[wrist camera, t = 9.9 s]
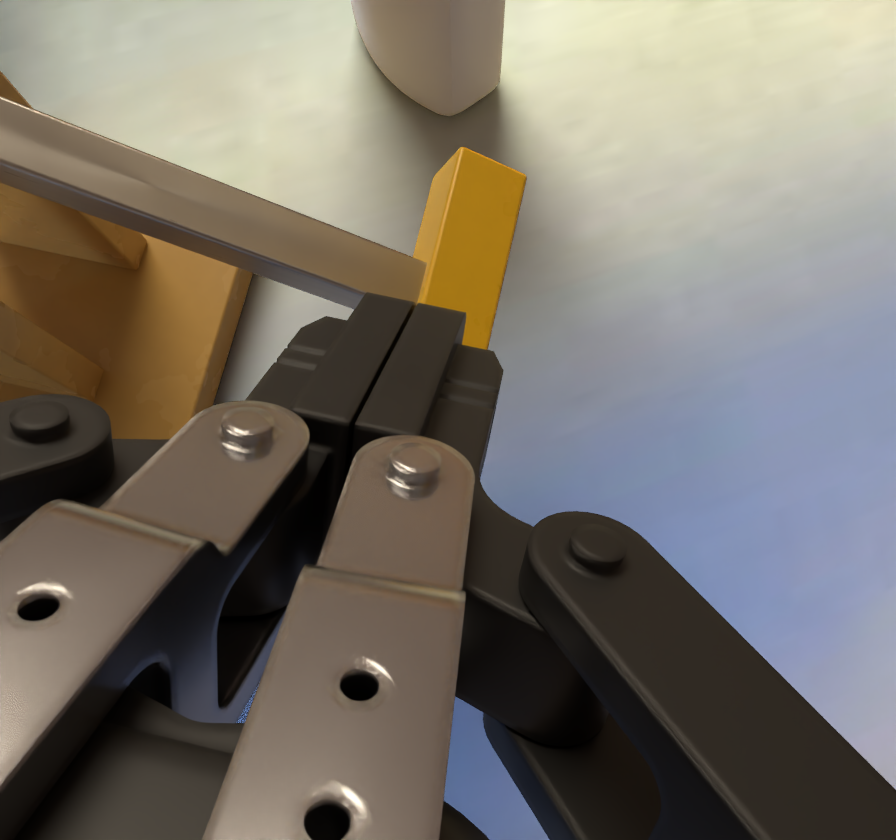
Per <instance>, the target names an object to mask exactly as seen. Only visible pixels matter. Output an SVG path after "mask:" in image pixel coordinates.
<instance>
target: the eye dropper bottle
mask: <svg viewBox="0 0 896 840" xmlns="http://www.w3.org/2000/svg"><path fill="white" fill-rule="evenodd" d="M351 5H352V10H353V14H354V18H355V21H356V24H357V27H358V30H359V33H360V35H361V38H362V40H363V42H364V44H365V46H366V48H367V50H368V52H369V54H370V55H371V57H372V59H373V60H374V62H375V63H376V65H377V66H378V67H379V69H380V70H381V71H382V72H383V74H384V75H385V76H386V77H387V78H388V79H389V80H390V81H391V82H392V83H393V84H394V85H395V86H396V87H397V88H398V89H399V90H401V91H402V92H403V93H404V94H406V95H407V96H408V97H410V98H411V99H413V100H414V101H416V102H417V103H419V104H420V105H422V106H424V107H426V108H427V109H429V110H431V111H433V112H436V113H438V114H440V115H445V116H452V115H455V114H458V113H460V112H462V111H464V110H465V109H467V108H468V107H470V106H471V105H473V104H474V103H476V102H477V101H479V100H480V99H482V98H483V97H485V96H486V95H487V94H489V93H490V92H491V91H493V90H494V88H495V87H496V86H497V85H498V84H499V81H500V72H501V59H502V44H503V28H504V12H505V0H351Z"/></svg>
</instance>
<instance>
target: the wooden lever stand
mask: <svg viewBox="0 0 896 840" xmlns="http://www.w3.org/2000/svg"><path fill="white" fill-rule="evenodd" d="M0 96H1V97H4V98H6V99H9V100H12V101H14V102H17V103H19V104H22V105H24V106H27V107H30V108H32V107H31V106H30V105H29V103H28V102H27V101H26V100H25V99H24V98H23V96H22V95H21V94H20V93H19V92H18V91H17V90H16V88H15V87H14V86H13V85H12V84H11V83H10V81H9V80H8V79H7V78H6V77H5V76H4V74H3V73H2V72H1V71H0ZM32 109H33V108H32ZM252 275H253V273H252V272H249V271H246V270H243V269H240V268H238V267H235V266H232V265H229V264H226V263H224V262H221V261H218V260H215V259H212V258H210V257H207V256H204V255H201V254H198V253H196V252H193V251H190V250H187V249H184V248H182V247H179V246H176V245H173V244H170V243H168V242H165V241H162V240H159V239H156V238H154V237H151V236H148V235H145V234H142V233H140V232H137V231H134V230H131V229H128V228H126V227H123V226H120V225H117V224H114V223H112V222H109V221H106V220H103V219H100V218H98V217H95V216H92V215H89V214H86V213H84V212H81V211H78V210H75V209H72V208H70V207H67V206H64V205H61V204H59V203H56V202H53V201H50V200H47V199H45V198H42V197H39V196H36V195H33V194H31V193H28V192H25V191H22V190H19V189H17V188H14V187H11V186H8V185H5V184H3V183H0V402H4V401H8V400H12V399H16V398H21V397H26V396H32V395H41V394H61V395H70V396H76V397H80V398H84V399H87V400H89V401H92V402H94V403H96V404H97V405H99V406H100V407H102V408H103V409H104V410H105V411H106V413H107V414H108V416H109V418H110V422H111V431H112V439H171V438H172V437H173V436H174V435H175V434H176V433H177V432H178V431H179V430H180V429H181V428H182V427H183V426H184V425H185V424H186V423H187V422H188V421H189V420H190V419H191V418H193V417H194V416H195V415H196V414H198V413H199V412H201V411H203V410H204V409H206V408H209V407H211V406H213V403H214V400H215V397H216V393H217V390H218V387H219V383H220V380H221V377H222V373H223V370H224V367H225V364H226V360H227V357H228V354H229V350H230V347H231V344H232V341H233V337H234V334H235V331H236V327H237V324H238V321H239V317H240V314H241V311H242V308H243V304H244V301H245V298H246V294H247V291H248V288H249V285H250V281H251V278H252Z"/></svg>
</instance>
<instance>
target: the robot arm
mask: <svg viewBox="0 0 896 840" xmlns="http://www.w3.org/2000/svg"><path fill="white" fill-rule="evenodd" d="M465 323H466V312H462V311H457V310H452V309H447V308H442V307H437V306H433V305H428V304H423V303H418V304H417V305H416V303H415V302H413V301H408V300H403V299H398V298H393V297H389V296H384V295H379V294H374V293H369V292H367V293H366V294H365V295H364V296H363V298H362V299H361V301H360V302H359V304H358V305H357V307H356V308H355V310H354V311H353V313H352V314H351V316H350V317H349V319H348V320H342V319H337V318H332V317H328V316H326V317H323V318H321V319H319V320H317V321H315V322H313V323H311V324H309V325H306V326H304V327H302V328H301V329H300V330H299V331H298V333H297V334H296V335H295V337H294V338H293V339H292V340H291V342H290V343H289V344H288V348H285V349H284V351H283V352H282V353H281V355H280V356H279V357H278V358H277V362H276V363H275V362H274V364H273V365H272V366H271V367H270V369H269V370H268V371H267V373H266V374H265V375H264V376H263V378H262V379H261V380H260V382H259V383H258V384H257V385H256V387H255V388H254V389H253V391H252V392H251V393H250V394H249V396H248V397H247V398H246V400H245V401H232V402H226V403H221V404H218V405H214V406H211V407H209V408H206V409H204V410H203V411H201V412H199V413H198V414H196V415H195V416H194V417H193V418H191V419H190V420H189V421H188V422H187V423H186V424H185V425H184V426H183V427H182V428H181V429H180V430H179V431H178V432H177V433H176V434H175V435H174V436H173V437H172V438H171V439H112V431H111V422H110V418H109V416H108V414H107V413H106V411H105V410H104V409H103V408H102V407H100V406H99V405H97V404H96V403H94V402H92V401H89V400H87V399H84V398H80V397H76V396H70V395H61V394H41V395H32V396H26V397H21V398H16V399H12V400H8V401H4V402H0V840H489V839H488V838H487V836H486V835H485V834H484V833H483V832H482V831H480V830H479V829H478V828H477V827H476V826H475V825H474V824H473V823H472V822H470V821H469V820H468V819H467V818H466V817H465V816H464V815H463V814H461V813H460V812H459V811H457V810H456V809H455V808H453V807H452V806H450V805H449V804H448V803H446V802H445V801H443V800H444V791H445V782H446V773H447V764H448V754H449V745H450V736H451V727H452V718H453V709H454V700H455V696H456V697H458V698H459V699H461V700H463V701H465V702H466V703H468V704H470V705H472V706H473V707H475V708H477V709H479V710H480V711H482V712H484V713H483V723H484V729H485V732H486V735H487V738H488V739H489V741H490V743H491V745H492V747H493V748H494V750H495V752H496V753H497V755H498V757H499V758H500V760H501V761H502V763H503V765H504V766H505V768H506V770H507V771H508V773H509V774H510V776H511V778H512V779H513V781H514V783H515V784H516V786H517V787H518V789H519V791H520V792H521V794H522V795H523V797H524V799H525V800H526V802H527V804H528V805H529V807H530V808H531V810H532V812H533V813H534V815H535V817H536V818H537V820H538V821H539V823H540V825H541V826H542V828H543V830H544V831H545V833H546V834H547V836H548V838H549V839H550V840H896V790H895V789H894V788H893V787H892V786H891V785H890V784H889V783H888V782H887V781H886V780H885V779H884V778H883V777H882V776H881V775H880V774H879V773H878V772H877V771H876V770H875V769H874V768H873V767H872V766H871V765H870V764H869V763H868V762H867V761H866V760H865V759H864V758H863V757H862V756H861V755H860V754H859V753H858V752H857V751H856V750H855V749H854V748H853V747H852V746H851V745H850V744H849V743H848V742H847V741H846V740H845V739H844V738H843V737H842V736H841V735H840V734H839V733H838V732H837V731H836V730H835V729H834V728H833V727H832V726H831V725H830V724H829V723H828V722H827V721H826V720H825V719H824V718H823V717H822V716H821V715H820V714H819V713H818V712H817V711H816V710H815V709H814V708H813V707H812V706H811V705H810V704H809V703H808V702H807V701H806V700H805V699H804V698H803V697H802V696H801V695H800V694H799V693H798V692H797V691H796V690H795V689H794V688H793V687H792V686H791V685H790V684H789V683H788V682H787V681H786V680H785V679H784V678H783V677H782V676H781V675H780V674H779V673H778V672H777V671H776V670H775V669H774V668H773V667H772V666H771V665H770V664H769V663H768V662H767V661H766V660H765V659H764V658H763V657H762V656H761V655H760V654H759V653H758V652H757V651H756V650H755V649H754V648H753V647H752V646H751V645H750V644H749V643H748V642H747V641H746V640H745V639H744V638H743V637H742V636H741V635H740V634H739V633H738V632H737V631H736V630H735V629H734V628H733V627H732V626H731V625H730V624H729V623H728V622H727V621H726V620H725V619H724V618H723V617H722V616H721V615H720V614H719V613H718V612H717V611H716V610H715V609H714V608H713V607H712V606H711V605H710V604H709V603H708V602H707V601H706V600H705V599H704V598H703V597H702V596H701V595H700V594H699V593H698V592H697V591H696V590H695V589H694V588H693V587H692V586H691V585H690V584H689V583H688V582H687V581H686V580H685V579H684V578H683V577H682V576H681V575H680V574H679V573H678V572H677V571H676V570H675V569H674V568H673V567H672V566H671V565H670V564H669V563H668V562H667V561H666V560H665V559H664V558H663V557H662V556H661V555H660V554H659V553H658V552H657V551H656V550H655V549H654V548H653V547H652V546H651V545H650V544H649V543H648V542H647V541H646V540H645V539H644V538H643V537H642V536H641V535H639V534H638V533H637V532H635V531H634V530H632V529H631V528H630V527H628V526H626V525H624V524H622V523H620V522H618V521H616V520H614V519H611V518H609V517H605V516H602V515H599V514H594V513H589V512H578V511H573V512H562V513H556V514H553V515H550V516H548V517H546V518H544V519H542V520H541V521H540V522H538V523H537V524H536V525H535V526H534V527H533V526H531V525H529V524H527V523H524V522H522V521H520V520H518V519H516V518H515V517H513V516H511V515H509V514H508V513H506V512H505V511H503V510H502V509H500V508H499V507H498V506H497V505H496V504H495V503H494V502H493V501H492V500H491V499H490V498H489V497H488V496H487V494H486V493H485V491H484V489H483V488H482V485H481V482H480V477H481V473H482V469H483V465H484V461H485V457H486V452H487V447H488V443H489V438H490V433H491V428H492V423H493V419H494V414H495V409H496V404H497V399H498V394H499V390H500V385H501V380H502V375H503V369H502V367H501V365H500V363H499V361H498V359H497V357H496V355H495V353H494V351H490V350H485V349H480V348H476V347H471V346H466V345H462V341H463V335H464V329H465ZM259 682H260V683H259ZM258 684H259V686H258ZM257 686H258V688H257V691H256V694H255V697H254V699H253V702H252V705H251V707H250V710H249V713H248V716H247V718H246V721H245V723H236V722H237V721H238V719H239V717H240V715H241V714H242V712H243V710H244V708H245V707H246V705H247V703H248V701H249V700H250V698H251V696H252V694H253V693H254V691H255V689H256V687H257Z"/></svg>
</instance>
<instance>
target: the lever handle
mask: <svg viewBox="0 0 896 840" xmlns="http://www.w3.org/2000/svg"><path fill="white" fill-rule="evenodd" d="M526 179H527V177H526V175H525V174H523V173H521V172H519V171H516V170H514V169H512V168H510V167H508V166H505V165H503V164H501V163H499V162H497V161H494V160H492V159H490V158H488V157H485V156H483V155H481V154H479V153H477V152H474V151H472V150H470V149H468V148H466V147H460V148H459V150H458V151H457V152H456V153H455V154H454V155H453V156H452V157H451V158H450V159H449V160H448V161H447V163H446V164H445V165H444V166H443V167H442V168H441V169H440V170H439V171H438V172H437V173H436V174H435V176H434V177H433V180H432V184H431V188H430V192H429V196H428V200H427V204H426V208H425V211H424V215H423V219H422V223H421V227H420V231H419V235H418V239H417V243H416V246H415V250H414V254H413V257H411V256H408V255H406V254H403V253H401V252H398V251H396V250H393V249H390V248H388V247H385V246H383V245H380V244H378V243H375V242H372V241H370V240H367V239H365V238H362V237H360V236H357V235H355V234H352V233H349V232H347V231H344V230H342V229H339V228H337V227H334V226H332V225H329V224H326V223H324V222H321V221H319V220H316V219H314V218H311V217H309V216H306V215H303V214H301V213H298V212H296V211H293V210H291V209H288V208H285V207H283V206H280V205H278V204H275V203H273V202H270V201H268V200H265V199H262V198H260V197H257V196H255V195H252V194H250V193H247V192H245V191H242V190H239V189H237V188H234V187H232V186H229V185H227V184H224V183H221V182H219V181H216V180H214V179H211V178H209V177H206V176H204V175H201V174H198V173H196V172H193V171H191V170H188V169H186V168H183V167H181V166H178V165H175V164H173V163H170V162H168V161H165V160H163V159H160V158H157V157H155V156H152V155H150V154H147V153H145V152H142V151H140V150H137V149H134V148H132V147H129V146H127V145H124V144H122V143H119V142H117V141H114V140H111V139H109V138H106V137H104V136H101V135H99V134H96V133H94V132H91V131H88V130H86V129H83V128H81V127H78V126H76V125H73V124H70V123H68V122H65V121H63V120H60V119H58V118H55V117H53V116H50V115H47V114H45V113H42V112H40V111H37V110H35V109H32V108H30V107H27V106H24V105H22V104H19V103H17V102H14V101H12V100H9V99H6V98H4V97H1V96H0V183H3V184H5V185H8V186H11V187H14V188H17V189H19V190H22V191H25V192H28V193H31V194H33V195H36V196H39V197H42V198H45V199H47V200H50V201H53V202H56V203H59V204H61V205H64V206H67V207H70V208H72V209H75V210H78V211H81V212H84V213H86V214H89V215H92V216H95V217H98V218H100V219H103V220H106V221H109V222H112V223H114V224H117V225H120V226H123V227H126V228H128V229H131V230H134V231H137V232H140V233H142V234H145V235H148V236H151V237H154V238H156V239H159V240H162V241H165V242H168V243H170V244H173V245H176V246H179V247H182V248H184V249H187V250H190V251H193V252H196V253H198V254H201V255H204V256H207V257H210V258H212V259H215V260H218V261H221V262H224V263H226V264H229V265H232V266H235V267H238V268H240V269H243V270H246V271H249V272H252V273H254V274H257V275H260V276H263V277H266V278H268V279H271V280H274V281H277V282H280V283H282V284H285V285H288V286H291V287H294V288H296V289H299V290H302V291H305V292H308V293H310V294H313V295H316V296H319V297H322V298H324V299H327V300H330V301H333V302H336V303H338V304H341V305H344V306H347V307H350V308H352V309H355V308H356V307H357V305H358V304H359V302H360V301H361V299H362V298H363V296H364V295H365V294H366V293H367V292H369V293H374V294H379V295H384V296H389V297H393V298H398V299H403V300H408V301H413V302H415V303H416V305H417V304H418V303H423V304H428V305H433V306H437V307H442V308H447V309H452V310H457V311H462V312H466V323H465V329H464V335H463V341H462V345H466V346H471V347H476V348H480V349H485V350H488V345H489V341H490V336H491V332H492V328H493V323H494V319H495V315H496V310H497V306H498V301H499V297H500V293H501V288H502V284H503V280H504V275H505V271H506V267H507V262H508V258H509V253H510V249H511V245H512V240H513V236H514V232H515V227H516V223H517V218H518V214H519V210H520V205H521V201H522V197H523V192H524V188H525V184H526Z"/></svg>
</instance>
